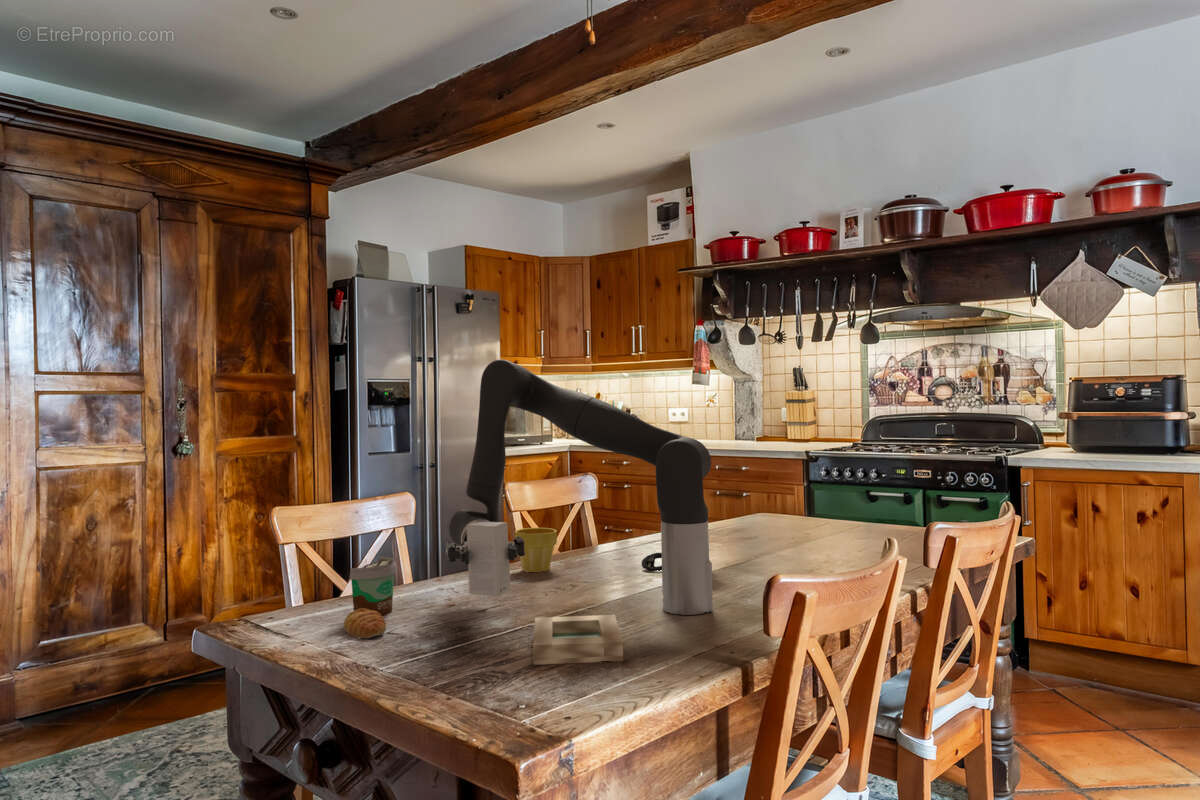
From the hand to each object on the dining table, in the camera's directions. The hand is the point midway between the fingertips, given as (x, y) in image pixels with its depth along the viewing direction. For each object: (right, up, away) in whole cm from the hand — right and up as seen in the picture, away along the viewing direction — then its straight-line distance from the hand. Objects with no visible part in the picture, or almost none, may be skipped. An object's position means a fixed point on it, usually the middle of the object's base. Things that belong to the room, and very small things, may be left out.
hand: (489, 556), depth 132 cm
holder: (+15, -14, -3) cm, 21 cm away
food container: (-25, -16, +22) cm, 36 cm away
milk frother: (+37, -15, +54) cm, 67 cm away
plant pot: (+3, -16, +59) cm, 61 cm away
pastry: (-24, -16, +9) cm, 30 cm away
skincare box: (0, -7, +2) cm, 7 cm away
